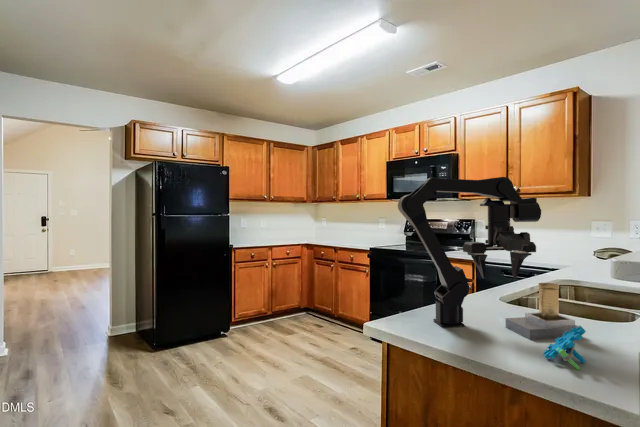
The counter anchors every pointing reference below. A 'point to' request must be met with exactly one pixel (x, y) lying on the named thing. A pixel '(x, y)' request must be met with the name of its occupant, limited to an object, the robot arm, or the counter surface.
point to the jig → (540, 326)
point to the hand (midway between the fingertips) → (499, 277)
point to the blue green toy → (566, 346)
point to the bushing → (549, 301)
